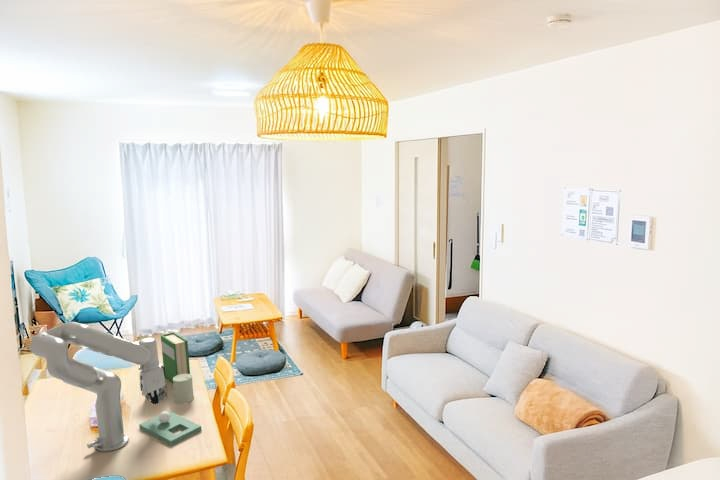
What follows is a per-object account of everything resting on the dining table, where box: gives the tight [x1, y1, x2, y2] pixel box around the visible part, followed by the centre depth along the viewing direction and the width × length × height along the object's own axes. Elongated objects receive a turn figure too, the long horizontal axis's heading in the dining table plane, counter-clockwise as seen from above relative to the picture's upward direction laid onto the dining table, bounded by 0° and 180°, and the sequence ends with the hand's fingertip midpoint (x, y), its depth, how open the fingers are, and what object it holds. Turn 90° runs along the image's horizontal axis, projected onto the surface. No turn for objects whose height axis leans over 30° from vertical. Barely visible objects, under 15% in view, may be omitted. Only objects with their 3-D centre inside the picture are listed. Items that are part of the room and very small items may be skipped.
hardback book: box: [160, 331, 191, 385], centre depth 283 cm, size 18×7×24 cm, turn 41°
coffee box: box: [144, 365, 168, 403], centre depth 264 cm, size 9×6×16 cm
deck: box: [138, 410, 202, 446], centre depth 234 cm, size 15×24×2 cm, turn 53°
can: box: [172, 373, 195, 405], centre depth 262 cm, size 9×9×12 cm
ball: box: [157, 411, 170, 423], centre depth 236 cm, size 5×5×5 cm
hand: (154, 403), depth 241 cm, fingers closed
